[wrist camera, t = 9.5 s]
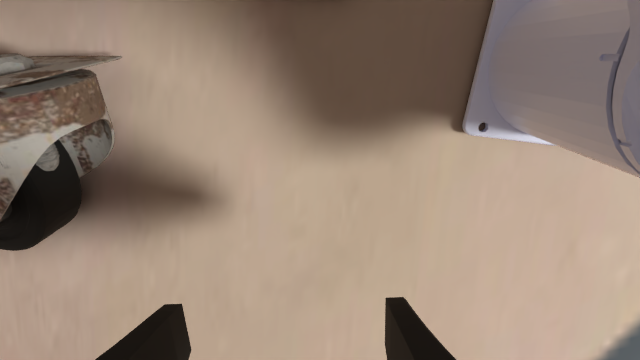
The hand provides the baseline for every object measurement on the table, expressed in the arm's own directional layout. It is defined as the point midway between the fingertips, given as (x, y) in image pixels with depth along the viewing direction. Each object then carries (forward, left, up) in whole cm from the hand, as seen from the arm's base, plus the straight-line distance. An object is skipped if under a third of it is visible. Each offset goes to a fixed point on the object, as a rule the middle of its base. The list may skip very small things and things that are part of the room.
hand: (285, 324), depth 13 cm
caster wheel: (+15, -2, -10) cm, 18 cm away
